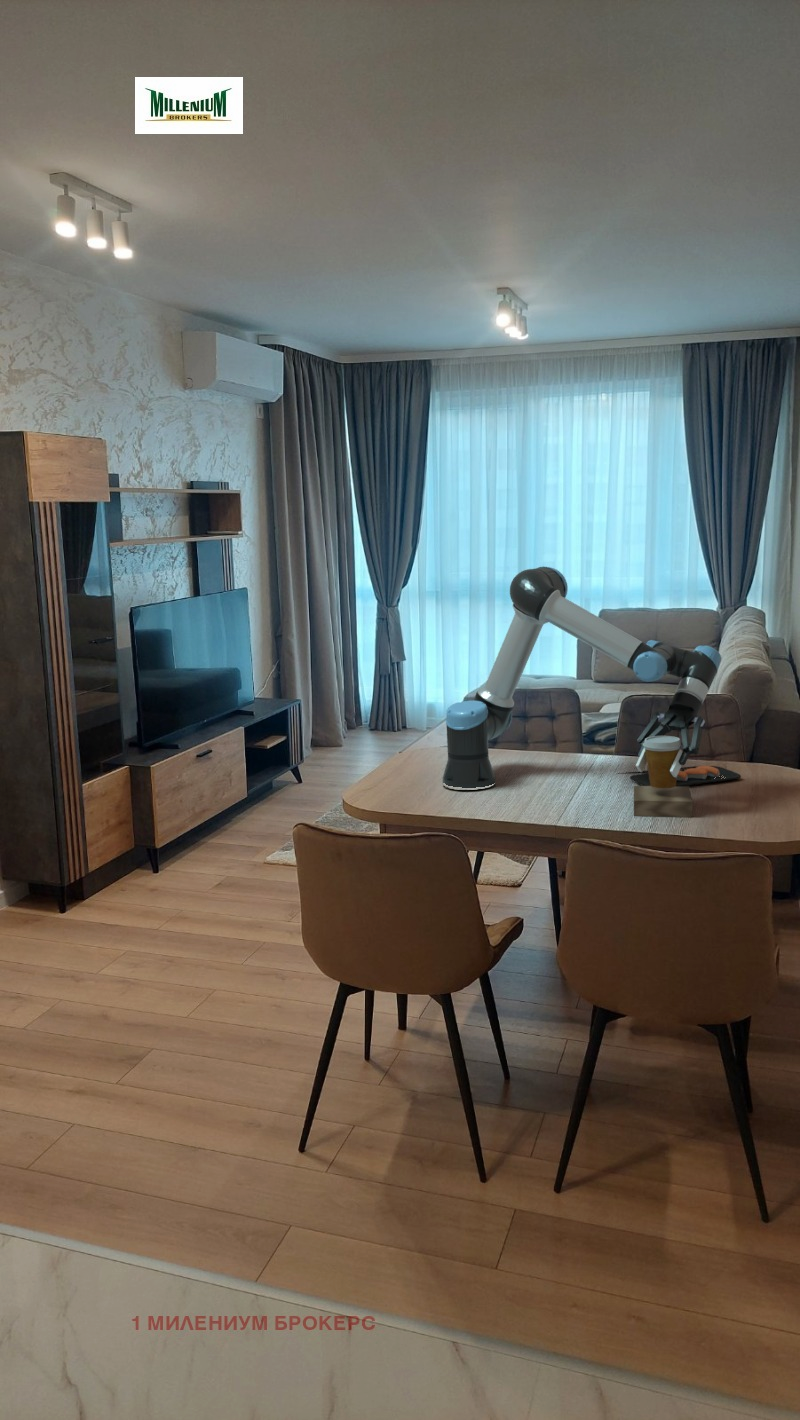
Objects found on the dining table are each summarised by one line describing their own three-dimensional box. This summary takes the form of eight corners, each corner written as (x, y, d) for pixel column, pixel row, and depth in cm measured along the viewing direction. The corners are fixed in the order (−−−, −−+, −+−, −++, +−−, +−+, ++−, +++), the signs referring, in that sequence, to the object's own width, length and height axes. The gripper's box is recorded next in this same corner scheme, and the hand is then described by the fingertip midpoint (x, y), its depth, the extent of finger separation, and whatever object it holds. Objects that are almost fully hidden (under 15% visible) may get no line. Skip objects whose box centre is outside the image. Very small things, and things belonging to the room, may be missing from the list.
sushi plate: (652, 794, 267) (652, 781, 267) (600, 770, 296) (600, 757, 295) (745, 782, 275) (745, 769, 274) (686, 760, 303) (686, 747, 303)
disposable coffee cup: (678, 780, 255) (678, 734, 253) (685, 789, 246) (685, 742, 244) (641, 781, 256) (640, 736, 254) (646, 791, 247) (645, 744, 245)
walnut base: (633, 815, 247) (633, 800, 247) (633, 800, 261) (633, 785, 260) (692, 817, 244) (692, 801, 243) (689, 801, 257) (689, 786, 257)
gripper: (732, 711, 251) (700, 786, 243) (656, 703, 266) (624, 773, 258) (722, 694, 246) (689, 769, 238) (646, 687, 262) (612, 757, 254)
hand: (655, 771), depth 248 cm, fingers closed on disposable coffee cup, 9 cm apart
